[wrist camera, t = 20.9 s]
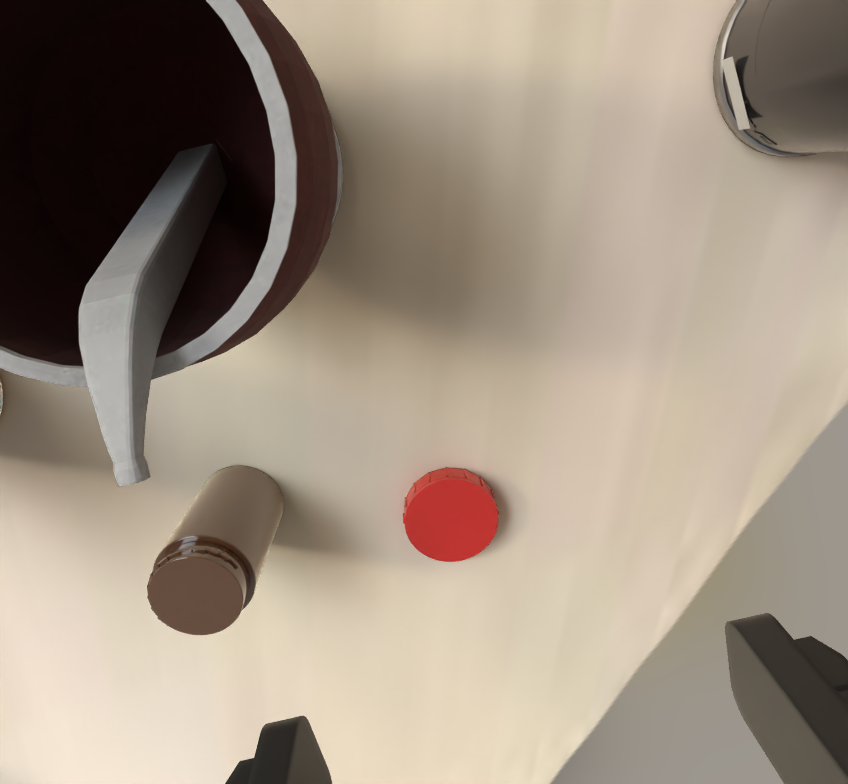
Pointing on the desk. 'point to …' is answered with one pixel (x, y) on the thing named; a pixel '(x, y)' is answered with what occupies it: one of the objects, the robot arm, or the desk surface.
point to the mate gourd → (152, 192)
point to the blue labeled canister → (1, 397)
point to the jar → (216, 552)
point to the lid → (450, 515)
